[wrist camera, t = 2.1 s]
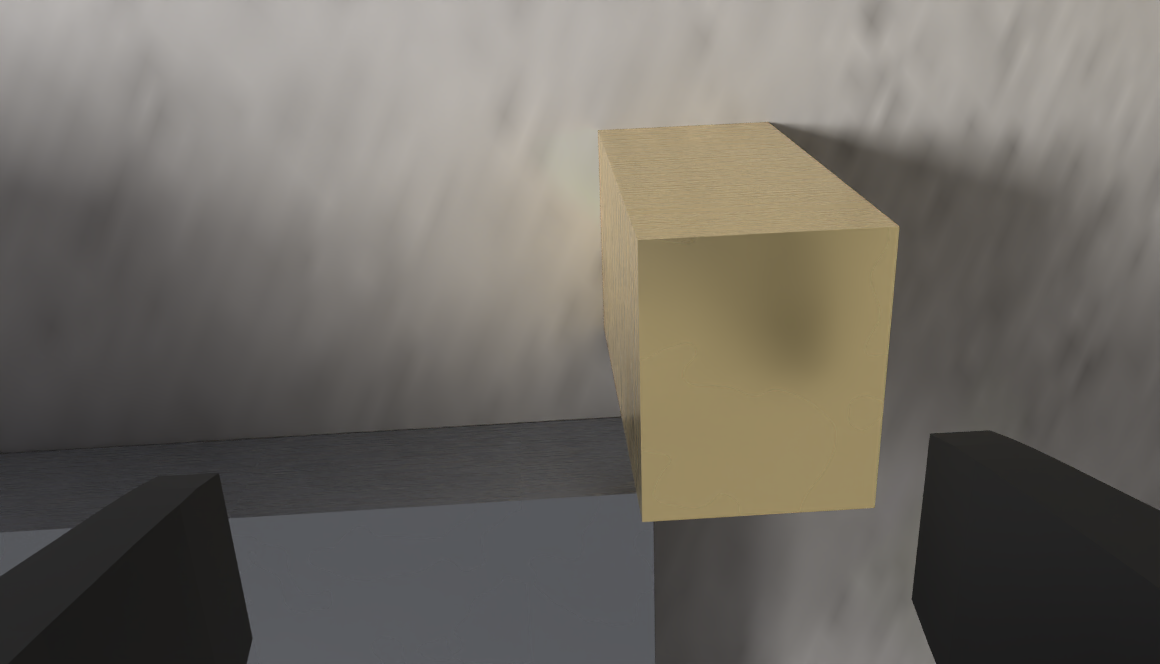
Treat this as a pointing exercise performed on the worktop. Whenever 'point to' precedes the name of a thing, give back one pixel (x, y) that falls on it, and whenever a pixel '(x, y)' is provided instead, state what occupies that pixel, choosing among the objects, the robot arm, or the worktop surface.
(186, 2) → the worktop surface
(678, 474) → the tan wooden block
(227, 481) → the peg hole base
